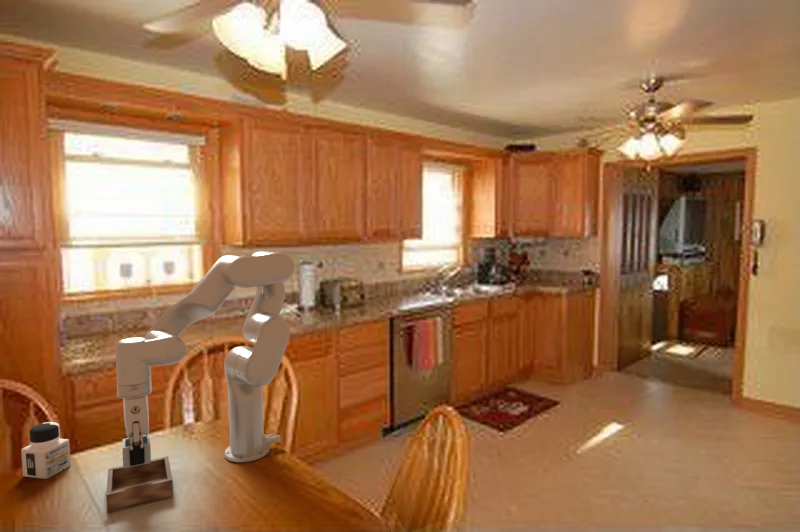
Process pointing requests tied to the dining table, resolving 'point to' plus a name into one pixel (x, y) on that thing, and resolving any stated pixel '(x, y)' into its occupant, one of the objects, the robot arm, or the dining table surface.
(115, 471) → the box
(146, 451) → the small crate
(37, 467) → the container
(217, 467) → the dining table surface
